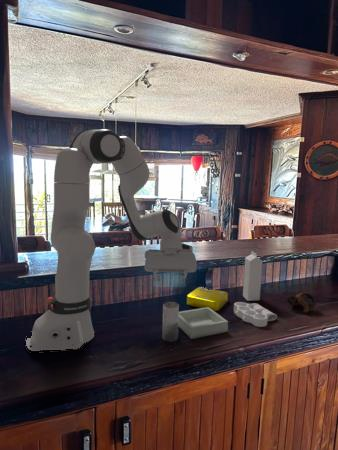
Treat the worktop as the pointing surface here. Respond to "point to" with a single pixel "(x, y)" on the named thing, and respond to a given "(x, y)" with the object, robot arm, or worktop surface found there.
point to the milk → (252, 277)
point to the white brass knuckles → (253, 313)
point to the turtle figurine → (301, 301)
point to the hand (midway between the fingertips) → (170, 281)
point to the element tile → (207, 298)
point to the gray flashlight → (170, 321)
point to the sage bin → (202, 322)
